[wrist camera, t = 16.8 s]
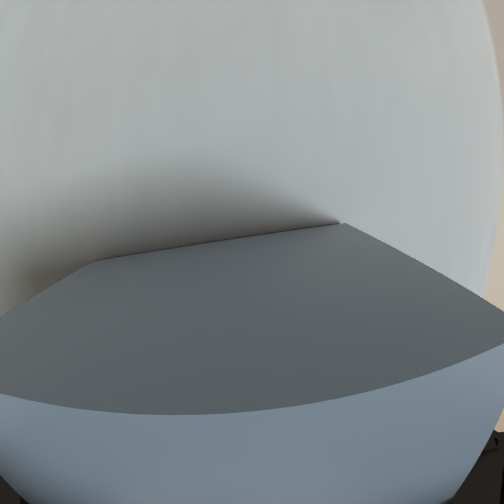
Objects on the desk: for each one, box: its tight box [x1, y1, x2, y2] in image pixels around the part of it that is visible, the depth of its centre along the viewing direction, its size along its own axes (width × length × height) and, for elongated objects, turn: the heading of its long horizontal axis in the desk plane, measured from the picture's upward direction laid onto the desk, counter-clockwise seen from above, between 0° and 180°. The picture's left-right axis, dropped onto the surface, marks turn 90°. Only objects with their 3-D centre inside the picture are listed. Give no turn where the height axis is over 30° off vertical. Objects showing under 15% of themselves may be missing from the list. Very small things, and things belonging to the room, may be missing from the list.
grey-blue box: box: [0, 223, 504, 504], centre depth 8 cm, size 10×10×9 cm
